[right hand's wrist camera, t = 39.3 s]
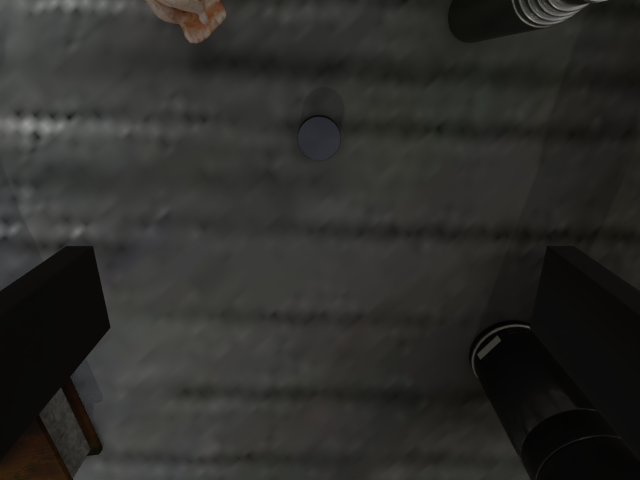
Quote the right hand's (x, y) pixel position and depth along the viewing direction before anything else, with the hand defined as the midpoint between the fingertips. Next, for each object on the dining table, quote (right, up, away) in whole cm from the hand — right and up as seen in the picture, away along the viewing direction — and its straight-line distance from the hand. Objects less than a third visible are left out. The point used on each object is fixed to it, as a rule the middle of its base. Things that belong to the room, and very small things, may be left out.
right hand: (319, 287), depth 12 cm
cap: (0, +11, +29) cm, 31 cm away
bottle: (+14, +22, +26) cm, 37 cm away
